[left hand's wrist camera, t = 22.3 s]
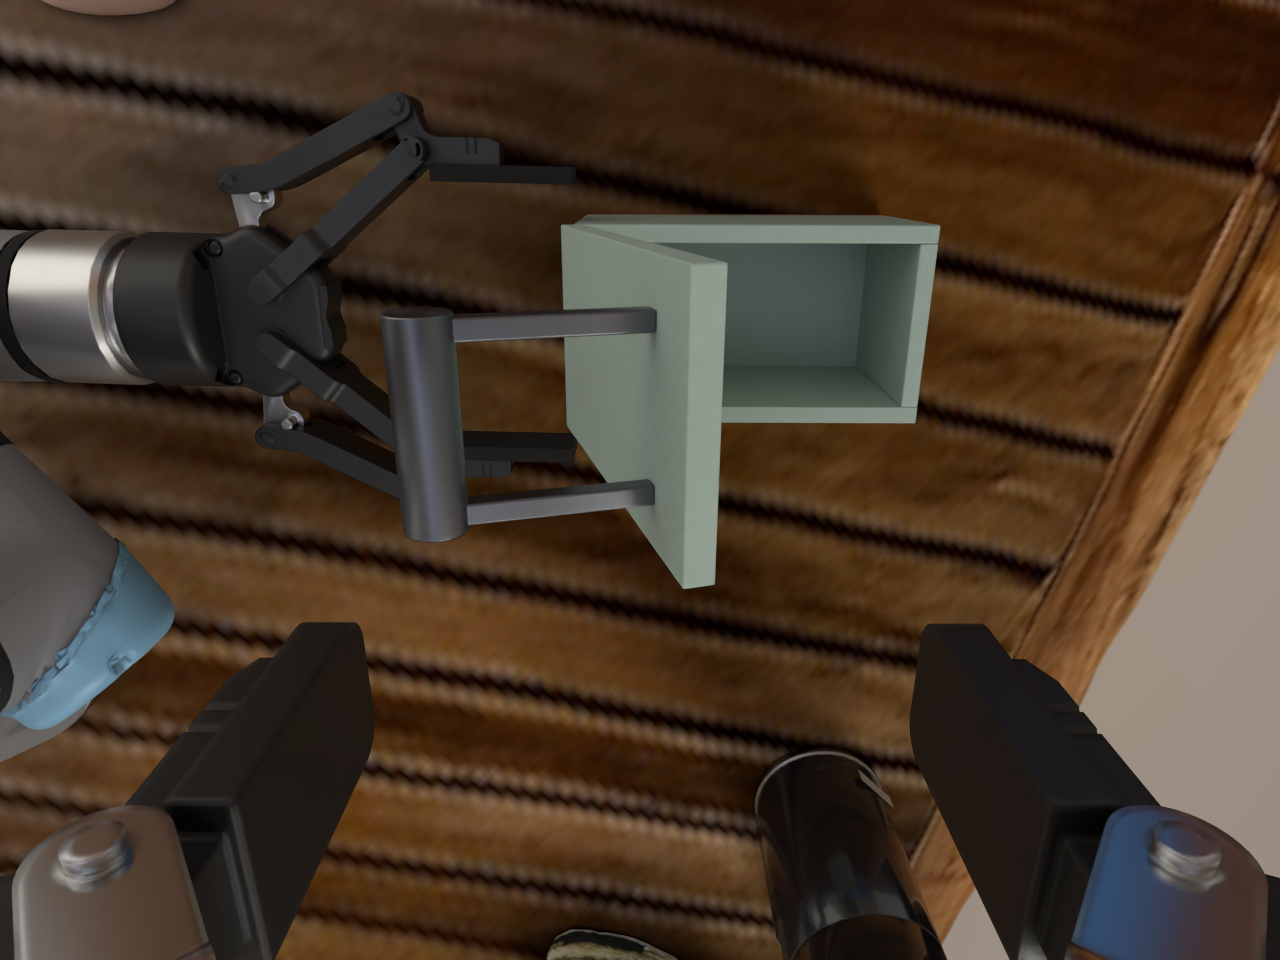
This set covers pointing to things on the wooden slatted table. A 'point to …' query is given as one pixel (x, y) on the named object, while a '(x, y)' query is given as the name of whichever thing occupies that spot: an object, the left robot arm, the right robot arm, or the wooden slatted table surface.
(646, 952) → the fossil
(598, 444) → the lid
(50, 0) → the anatomical model
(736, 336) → the chest
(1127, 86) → the wooden slatted table surface
